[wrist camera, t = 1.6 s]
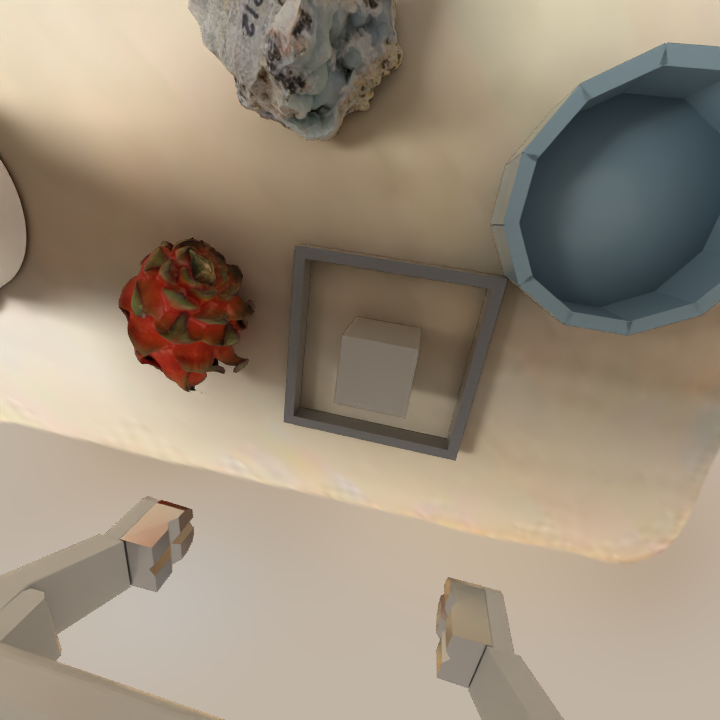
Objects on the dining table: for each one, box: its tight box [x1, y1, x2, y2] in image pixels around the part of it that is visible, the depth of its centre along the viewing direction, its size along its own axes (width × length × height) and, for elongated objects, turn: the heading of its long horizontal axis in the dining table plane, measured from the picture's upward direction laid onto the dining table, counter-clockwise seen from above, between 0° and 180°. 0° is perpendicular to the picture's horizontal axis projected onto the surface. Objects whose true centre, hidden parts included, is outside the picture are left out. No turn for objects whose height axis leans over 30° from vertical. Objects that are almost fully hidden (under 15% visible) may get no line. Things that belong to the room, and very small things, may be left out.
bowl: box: [490, 43, 720, 335], centre depth 20 cm, size 13×13×4 cm
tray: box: [284, 244, 508, 461], centre depth 27 cm, size 14×14×2 cm
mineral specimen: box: [188, 0, 404, 141], centre depth 20 cm, size 10×8×10 cm
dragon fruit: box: [119, 237, 255, 393], centre depth 26 cm, size 8×8×12 cm
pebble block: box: [334, 317, 421, 418], centre depth 26 cm, size 5×5×5 cm
